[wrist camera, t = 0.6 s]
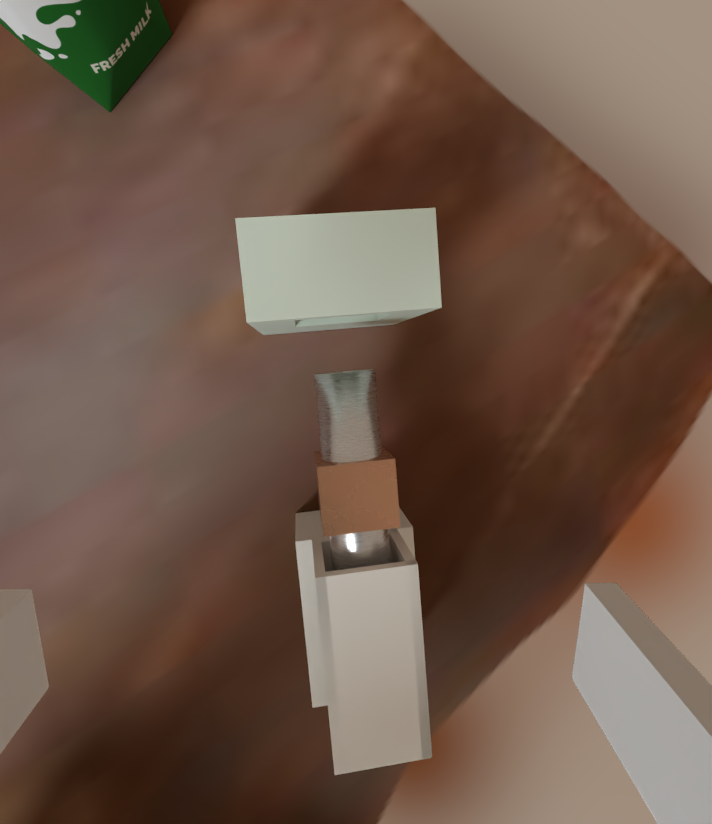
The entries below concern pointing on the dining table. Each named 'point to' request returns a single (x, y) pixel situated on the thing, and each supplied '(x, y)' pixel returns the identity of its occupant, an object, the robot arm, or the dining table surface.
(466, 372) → the dining table surface
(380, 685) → the sleeve
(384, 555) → the tube
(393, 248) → the socket block
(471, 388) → the dining table surface
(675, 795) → the robot arm
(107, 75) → the milk carton
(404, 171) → the dining table surface
